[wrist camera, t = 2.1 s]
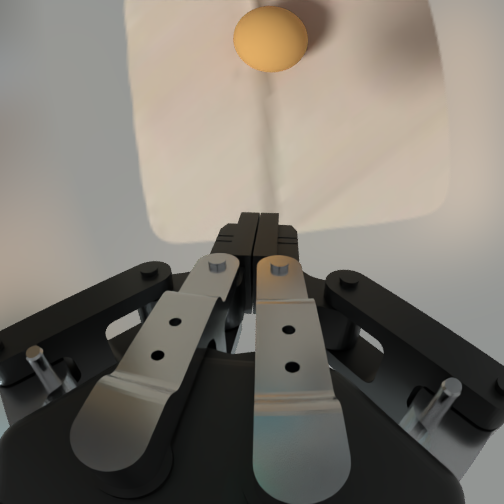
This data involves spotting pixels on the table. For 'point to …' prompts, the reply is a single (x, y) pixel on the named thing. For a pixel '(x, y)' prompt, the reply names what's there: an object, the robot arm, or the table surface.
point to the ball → (270, 39)
